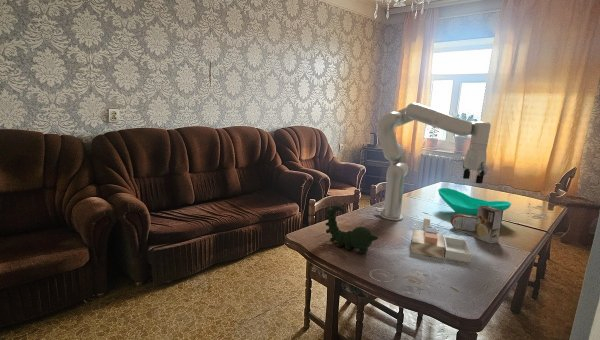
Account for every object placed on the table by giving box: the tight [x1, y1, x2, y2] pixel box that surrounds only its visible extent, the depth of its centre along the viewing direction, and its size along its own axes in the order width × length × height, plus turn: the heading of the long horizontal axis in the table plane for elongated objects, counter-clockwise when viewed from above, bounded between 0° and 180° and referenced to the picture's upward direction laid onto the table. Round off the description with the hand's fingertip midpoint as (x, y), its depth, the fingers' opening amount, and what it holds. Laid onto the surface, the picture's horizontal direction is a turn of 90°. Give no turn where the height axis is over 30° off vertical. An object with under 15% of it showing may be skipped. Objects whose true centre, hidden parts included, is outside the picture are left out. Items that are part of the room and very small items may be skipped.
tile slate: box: [424, 227, 438, 236], centre depth 142 cm, size 5×5×2 cm
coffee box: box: [473, 205, 504, 244], centre depth 153 cm, size 9×6×16 cm
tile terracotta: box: [424, 233, 438, 244], centre depth 136 cm, size 5×5×2 cm
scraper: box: [421, 216, 431, 231], centre depth 157 cm, size 3×16×8 cm, turn 159°
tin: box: [450, 213, 477, 233], centre depth 164 cm, size 15×3×8 cm, turn 71°
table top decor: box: [437, 187, 512, 216], centre depth 186 cm, size 40×28×13 cm
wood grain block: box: [410, 228, 445, 259], centre depth 140 cm, size 13×16×5 cm
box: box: [443, 235, 472, 265], centre depth 136 cm, size 10×16×4 cm, turn 159°
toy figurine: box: [324, 205, 379, 255], centre depth 135 cm, size 9×19×25 cm
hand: (472, 180), depth 157 cm, fingers open, 9 cm apart
